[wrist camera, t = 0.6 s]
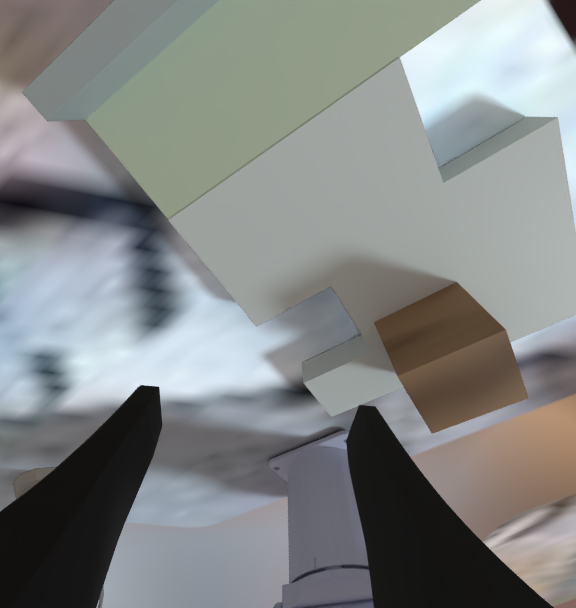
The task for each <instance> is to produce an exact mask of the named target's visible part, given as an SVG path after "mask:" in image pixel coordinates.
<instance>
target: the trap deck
mask: <svg viewBox="0 0 576 608" xmlns="http://www.w3.org/2000/svg"><path fill="white" fill-rule="evenodd" d="M479 1H480V0H114V1H113V2H112V3H111V4H110V5H109V6H108V7H107V8H106V9H105V10H104V11H103V12H102V13H101V14H100V15H99V16H98V17H97V18H96V19H95V20H94V21H93V22H92V23H91V24H90V25H89V26H88V27H87V28H86V29H85V30H84V31H83V32H82V33H81V34H80V35H79V36H78V37H77V38H76V39H75V40H74V41H73V42H72V43H71V44H70V45H69V46H68V47H67V48H66V49H65V50H64V51H63V52H62V53H61V54H60V55H59V56H58V57H57V58H56V59H55V60H54V61H53V62H52V63H51V64H50V65H49V66H48V67H47V68H46V69H45V70H44V71H43V72H42V73H41V74H40V75H39V76H38V77H37V78H36V79H35V80H34V81H33V82H32V83H31V84H30V85H29V86H28V87H27V88H26V89H25V90H24V91H23V92H22V93H23V94H24V96H25V97H26V98H27V99H28V100H29V101H30V102H31V103H32V105H33V106H34V107H35V108H36V109H37V110H38V111H39V112H40V114H41V115H42V116H43V117H44V118H45V119H46V120H47V121H68V120H86V121H87V122H88V123H89V125H90V126H91V127H92V128H93V129H94V131H95V132H96V133H97V134H98V135H99V137H100V138H101V139H102V140H103V141H104V143H105V144H106V145H107V146H108V147H109V149H110V150H111V151H112V152H113V154H114V155H115V156H116V157H117V158H118V160H119V161H120V162H121V163H122V164H123V166H124V167H125V168H126V169H127V170H128V172H129V173H130V174H131V175H132V176H133V178H134V179H135V180H136V181H137V182H138V184H139V185H140V186H141V187H142V188H143V190H144V191H145V192H146V193H147V195H148V196H149V197H150V198H151V199H152V201H153V202H154V203H155V204H156V205H157V207H158V208H159V209H160V210H161V211H162V213H163V214H164V215H165V216H166V217H167V219H168V221H169V222H170V223H171V224H172V225H173V227H174V228H175V229H176V230H177V231H178V233H179V234H180V235H181V236H182V237H183V239H184V240H185V241H186V242H187V243H188V245H189V246H190V247H191V248H192V249H193V251H194V252H195V253H196V254H197V255H198V257H199V258H200V259H201V260H202V261H203V263H204V264H205V265H206V266H207V268H208V269H209V270H210V271H211V272H212V274H213V275H214V276H215V277H216V278H217V280H218V281H219V282H220V283H221V284H222V286H223V287H224V288H225V289H226V290H227V292H228V293H229V294H230V295H231V296H232V298H233V299H234V300H235V301H236V302H237V304H238V305H239V306H240V307H241V308H242V310H243V311H244V312H245V313H246V314H247V316H248V317H249V318H250V319H251V321H252V322H253V323H254V324H255V325H256V326H258V325H260V324H262V323H264V322H266V321H267V320H269V319H271V318H273V317H275V316H277V315H279V314H281V313H282V312H284V311H286V310H288V309H290V308H292V307H294V306H295V305H297V304H299V303H301V302H303V301H305V300H307V299H308V298H310V297H312V296H314V295H316V294H318V293H320V292H321V291H323V290H325V289H327V288H329V287H332V289H333V290H334V292H335V293H336V295H337V296H338V298H339V300H340V301H341V303H342V304H343V306H344V308H345V309H346V311H347V312H348V314H349V316H350V317H351V319H352V320H353V322H354V324H355V325H356V327H357V328H358V330H359V332H360V333H361V335H359V336H357V337H355V338H353V339H351V340H349V341H347V342H345V343H343V344H340V345H338V346H336V347H334V348H332V349H330V350H328V351H326V352H324V353H322V354H320V355H318V356H315V357H313V358H311V359H309V360H307V361H305V362H303V363H302V371H303V383H304V384H305V386H306V387H307V388H308V389H309V390H310V392H311V393H312V394H313V395H314V396H315V398H316V399H317V400H318V401H319V402H320V404H321V405H322V406H323V407H324V408H325V410H326V411H327V412H328V413H329V414H330V416H331V417H333V416H335V415H337V414H340V413H342V412H345V411H347V410H349V409H352V408H354V407H356V406H359V405H361V404H364V403H366V402H368V401H371V400H373V399H376V398H378V397H380V396H383V395H385V394H388V393H390V392H392V391H395V390H397V389H400V388H402V387H404V386H403V385H402V383H401V382H400V380H399V378H398V377H397V374H396V372H395V370H394V368H393V365H392V363H391V361H390V358H389V356H388V354H387V352H386V349H385V347H384V345H383V342H382V340H381V338H380V336H379V333H378V331H377V329H376V326H375V324H374V322H375V321H378V320H380V319H382V318H384V317H386V316H388V315H390V314H392V313H394V312H396V311H398V310H400V309H402V308H404V307H406V306H408V305H410V304H413V303H415V302H417V301H419V300H421V299H423V298H425V297H427V296H429V295H431V294H433V293H435V292H437V291H439V290H441V289H443V288H445V287H448V286H450V285H452V284H454V283H456V282H458V283H459V284H460V285H461V286H462V287H463V288H464V289H465V290H466V291H467V292H468V293H469V294H470V295H471V296H472V297H473V298H474V299H475V300H476V301H477V302H478V303H479V304H480V305H481V306H482V307H483V308H484V309H485V310H486V311H487V312H488V313H489V314H490V315H491V316H492V317H493V318H494V319H496V320H497V321H498V322H499V323H500V324H501V325H502V326H503V327H504V328H505V329H506V331H507V334H508V337H509V340H510V342H512V341H514V340H517V339H519V338H522V337H524V336H526V335H529V334H531V333H534V332H536V331H538V330H541V329H543V328H545V327H548V326H550V325H553V324H555V323H557V322H560V321H562V320H565V319H567V318H569V317H572V316H574V315H576V231H575V225H574V219H573V212H572V206H571V199H570V193H569V186H568V180H567V173H566V167H565V160H564V154H563V147H562V141H561V134H560V128H559V121H558V117H526V118H524V119H522V120H521V121H519V122H517V123H515V124H514V125H512V126H510V127H509V128H507V129H505V130H504V131H502V132H500V133H498V134H497V135H495V136H493V137H492V138H490V139H488V140H486V141H485V142H483V143H481V144H480V145H478V146H476V147H475V148H473V149H471V150H469V151H468V152H466V153H464V154H463V155H461V156H459V157H458V158H456V159H454V160H452V161H451V162H449V163H447V164H446V165H444V166H442V167H441V168H439V169H438V166H437V163H436V160H435V157H434V154H433V151H432V149H431V146H430V143H429V140H428V137H427V134H426V131H425V129H424V126H423V123H422V120H421V117H420V114H419V111H418V109H417V106H416V103H415V100H414V97H413V94H412V91H411V89H410V86H409V83H408V80H407V77H406V74H405V71H404V68H403V66H402V63H401V60H400V57H401V56H402V55H404V54H405V53H406V52H408V51H409V50H411V49H412V48H414V47H415V46H416V45H418V44H419V43H421V42H422V41H424V40H425V39H426V38H428V37H429V36H431V35H432V34H433V33H435V32H436V31H438V30H439V29H441V28H442V27H443V26H445V25H446V24H448V23H449V22H451V21H452V20H453V19H455V18H456V17H458V16H459V15H461V14H462V13H463V12H465V11H466V10H468V9H469V8H470V7H472V6H473V5H475V4H476V3H478V2H479Z"/></svg>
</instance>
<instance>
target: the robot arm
mask: <svg viewBox="0 0 576 608" xmlns="http://www.w3.org/2000/svg"><path fill="white" fill-rule="evenodd" d="M161 428H162V417H161V405H160V392H159V387H155V386H144V385H141V386H139V387H138V388H137V389H136V390H135V391H134V392H133V394H132V395H131V396H130V397H129V398H128V399H127V400H126V401H125V402H124V403H123V404H122V405H121V406H120V408H119V409H118V410H117V411H116V412H115V413H114V414H113V415H112V416H111V417H110V418H109V419H108V420H107V421H106V422H105V423H104V424H103V425H102V426H101V427H100V428H99V429H98V430H97V431H96V432H95V433H94V434H93V435H92V436H91V437H90V438H88V439H87V440H86V441H85V442H84V443H83V444H82V445H81V446H80V447H79V448H78V449H76V450H75V451H74V452H73V453H72V454H71V455H70V456H69V457H68V458H66V459H65V460H64V461H63V462H62V463H61V464H60V465H59V466H57V467H56V468H55V469H54V470H53V471H51V472H50V473H49V474H48V475H47V476H45V477H44V478H43V479H42V480H41V481H39V482H38V483H37V484H36V485H34V486H33V487H32V488H31V489H29V490H28V491H27V492H26V493H24V494H23V495H22V496H20V497H19V498H18V499H16V500H15V501H14V502H12V503H11V504H10V505H8V506H7V507H6V508H4V509H3V510H2V511H0V608H96V607H97V603H98V600H99V597H100V594H101V591H102V588H103V585H104V581H105V578H106V575H107V572H108V569H109V566H110V563H111V560H112V557H113V554H114V551H115V548H116V545H117V541H118V539H119V536H120V534H121V531H122V529H123V526H124V523H125V521H126V519H127V516H128V514H129V512H130V509H131V507H132V505H133V502H134V500H135V498H136V495H137V493H138V491H139V488H140V486H141V483H142V481H143V479H144V476H145V474H146V472H147V469H148V467H149V465H150V462H151V460H152V457H153V455H154V452H155V448H156V445H157V442H158V438H159V435H160V432H161ZM268 467H269V468H270V469H272V470H273V471H274V472H275V473H276V474H277V475H278V476H279V477H281V478H282V479H283V480H284V481H285V482H286V483H287V484H288V531H289V532H288V535H289V584H286V585H283V586H282V602H280V603H279V602H278V603H276V604H275V605H274V607H273V608H554V607H552V606H551V605H550V604H549V603H548V602H546V601H545V600H544V599H543V598H542V597H540V596H539V595H538V594H537V593H536V592H535V591H534V590H533V589H531V588H530V587H529V586H528V585H527V584H526V583H525V582H524V581H523V580H522V579H520V578H519V577H518V576H517V575H516V574H515V573H514V572H513V571H512V570H511V569H510V568H509V567H507V566H506V565H505V564H504V563H503V562H502V561H501V560H500V559H499V558H498V557H497V556H496V555H495V554H494V553H493V552H492V551H491V550H490V549H489V548H488V547H487V546H486V545H485V544H484V543H483V542H482V541H481V540H480V539H479V538H478V537H477V536H476V535H475V534H474V533H473V532H472V531H471V530H470V529H469V528H468V527H467V526H466V525H465V523H464V522H463V521H462V520H461V519H460V518H459V517H458V516H457V515H456V513H455V512H454V511H453V510H452V509H451V508H450V507H449V506H448V505H447V504H446V502H445V501H444V500H443V499H442V497H441V496H440V495H439V494H438V493H437V491H436V490H435V489H434V488H433V486H432V485H431V484H430V483H429V481H428V480H427V479H426V478H425V477H424V475H423V474H422V472H421V471H420V470H419V468H418V467H417V466H416V465H415V463H414V462H413V460H412V459H411V458H410V456H409V455H408V453H407V452H406V451H405V449H404V448H403V446H402V445H401V444H400V442H399V441H398V439H397V438H396V436H395V435H394V433H393V432H392V430H391V429H390V427H389V426H388V425H387V423H386V422H385V420H384V419H383V417H382V416H381V414H380V413H379V411H378V410H377V408H376V407H375V406H364V405H359V407H358V410H357V413H356V415H355V418H354V421H353V423H352V426H351V429H350V431H349V432H347V431H339V432H337V433H335V434H332V435H330V436H327V437H325V438H322V439H320V440H317V441H315V442H312V443H310V444H307V445H305V446H302V447H300V448H297V449H295V450H292V451H290V452H287V453H285V454H282V455H280V456H277V457H275V458H272V459H270V460H269V461H268Z"/></svg>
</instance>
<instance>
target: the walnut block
mask: <svg viewBox="0 0 576 608" xmlns="http://www.w3.org/2000/svg"><path fill="white" fill-rule="evenodd" d="M374 324H375V326H376V329H377V331H378V333H379V336H380V338H381V340H382V342H383V345H384V347H385V349H386V352H387V354H388V356H389V358H390V361H391V363H392V365H393V368H394V370H395V372H396V374H397V377H398V378H399V380H400V382H401V383H402V385H403V386H404V388H405V390H406V391H407V393H408V395H409V396H410V398H411V400H412V401H413V403H414V405H415V406H416V408H417V410H418V411H419V413H420V415H421V416H422V418H423V419H424V421H425V423H426V424H427V426H428V428H429V429H430V431H431V433H435V432H438V431H440V430H443V429H446V428H449V427H451V426H454V425H457V424H459V423H462V422H465V421H468V420H470V419H473V418H476V417H478V416H481V415H484V414H487V413H489V412H492V411H495V410H497V409H500V408H503V407H506V406H508V405H511V404H514V403H516V402H519V401H522V400H524V399H527V398H528V396H527V392H526V389H525V386H524V383H523V380H522V377H521V374H520V371H519V368H518V365H517V362H516V359H515V356H514V353H513V350H512V347H511V344H510V340H509V337H508V334H507V331H506V329H505V328H504V327H503V326H502V325H501V324H500V323H499V322H498V321H497V320H496V319H494V318H493V317H492V316H491V315H490V314H489V313H488V312H487V311H486V310H485V309H484V308H483V307H482V306H481V305H480V304H479V303H478V302H477V301H476V300H475V299H474V298H473V297H472V296H471V295H470V294H469V293H468V292H467V291H466V290H465V289H464V288H463V287H462V286H461V285H460V284H459V283H458V282H456V283H454V284H452V285H450V286H448V287H445V288H443V289H441V290H439V291H437V292H435V293H433V294H431V295H429V296H427V297H425V298H423V299H421V300H419V301H417V302H415V303H413V304H410V305H408V306H406V307H404V308H402V309H400V310H398V311H396V312H394V313H392V314H390V315H388V316H386V317H384V318H382V319H380V320H378V321H375V322H374Z"/></svg>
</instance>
